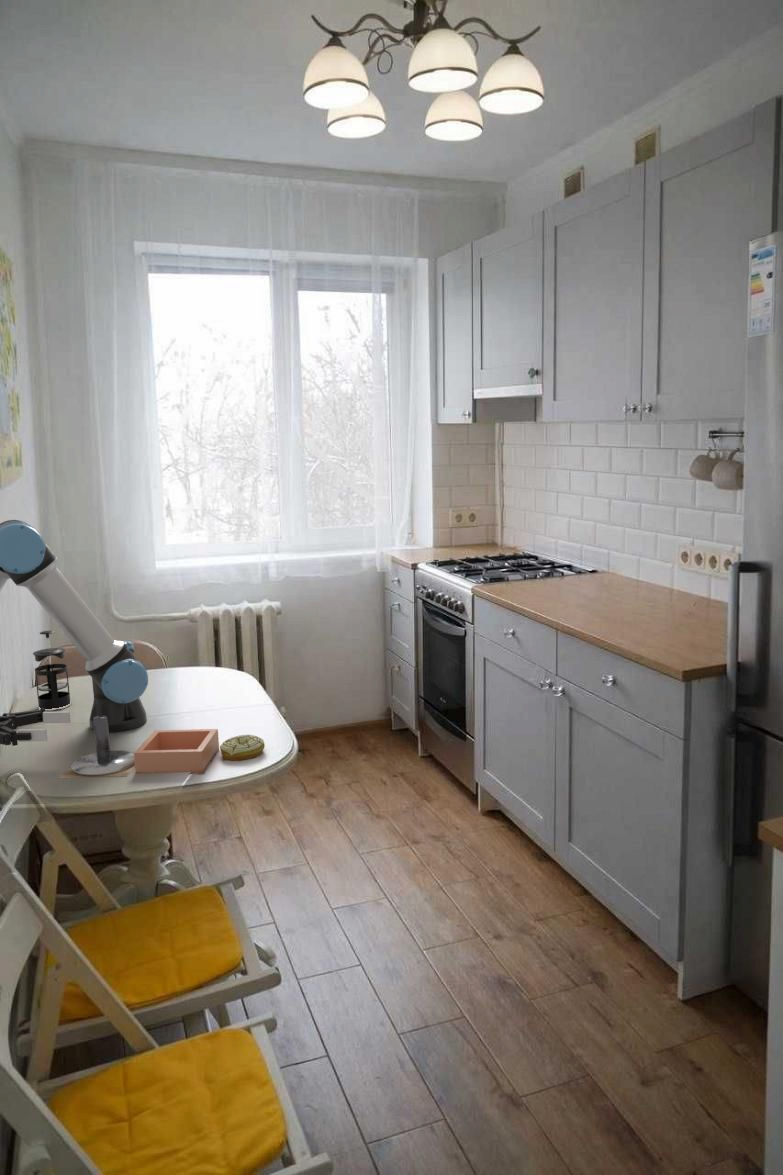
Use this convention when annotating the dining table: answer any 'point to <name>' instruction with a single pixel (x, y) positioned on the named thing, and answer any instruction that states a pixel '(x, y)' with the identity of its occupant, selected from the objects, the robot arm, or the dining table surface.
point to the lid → (103, 754)
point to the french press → (51, 678)
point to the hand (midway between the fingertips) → (58, 725)
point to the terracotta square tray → (177, 751)
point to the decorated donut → (242, 747)
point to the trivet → (70, 774)
